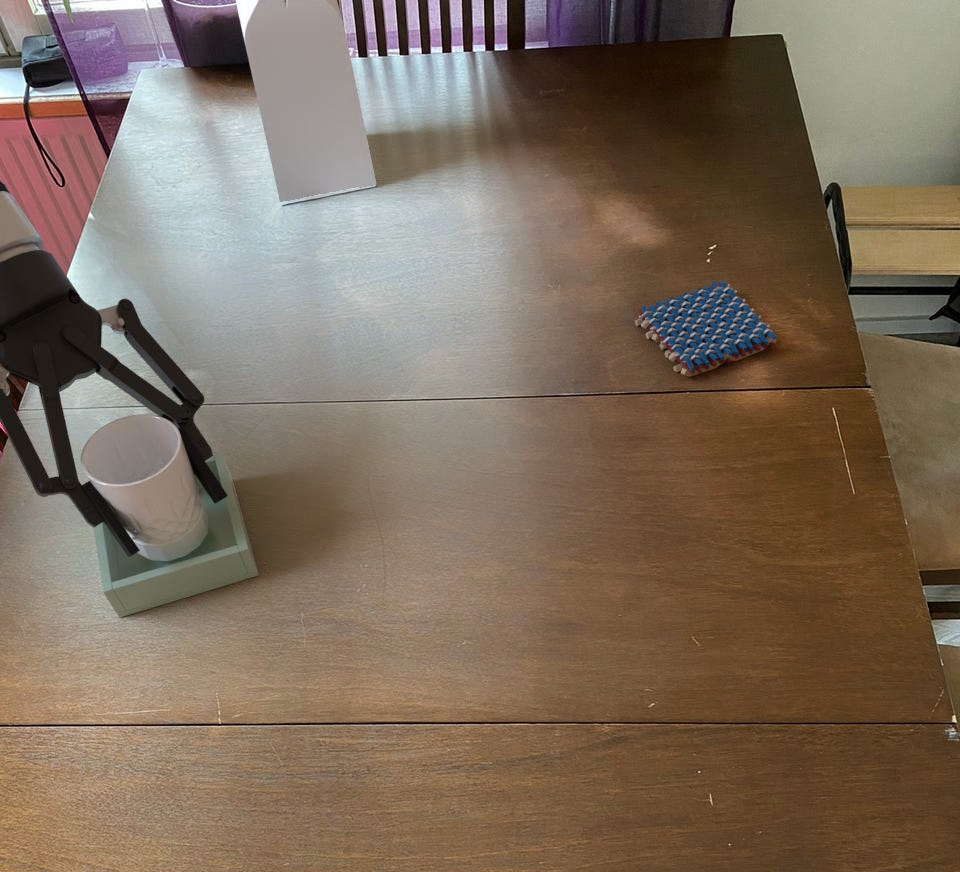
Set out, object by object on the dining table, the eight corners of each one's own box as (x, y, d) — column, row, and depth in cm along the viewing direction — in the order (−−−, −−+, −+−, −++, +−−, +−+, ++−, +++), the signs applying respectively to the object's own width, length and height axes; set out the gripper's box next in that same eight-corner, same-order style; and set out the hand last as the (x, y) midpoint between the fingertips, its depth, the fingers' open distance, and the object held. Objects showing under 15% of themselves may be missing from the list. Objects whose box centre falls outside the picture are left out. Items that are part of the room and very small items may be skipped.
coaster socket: (119, 618, 84) (102, 592, 81) (102, 517, 91) (87, 490, 88) (259, 575, 86) (248, 548, 83) (233, 479, 92) (222, 451, 89)
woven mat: (721, 290, 103) (724, 273, 101) (779, 351, 97) (783, 333, 95) (631, 321, 101) (632, 305, 99) (684, 385, 95) (686, 368, 94)
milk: (377, 187, 118) (335, -66, 97) (280, 206, 117) (217, -45, 96) (360, 135, 125) (318, -112, 103) (269, 152, 124) (208, -93, 102)
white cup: (129, 504, 89) (86, 420, 81) (218, 493, 89) (183, 408, 81) (121, 573, 84) (74, 491, 76) (214, 561, 84) (177, 479, 76)
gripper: (117, 230, 83) (271, 468, 89) (-118, 346, 76) (65, 596, 82) (125, 196, 76) (291, 456, 82) (-132, 320, 70) (69, 594, 75)
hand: (178, 526), depth 82 cm, fingers closed on white cup, 8 cm apart
